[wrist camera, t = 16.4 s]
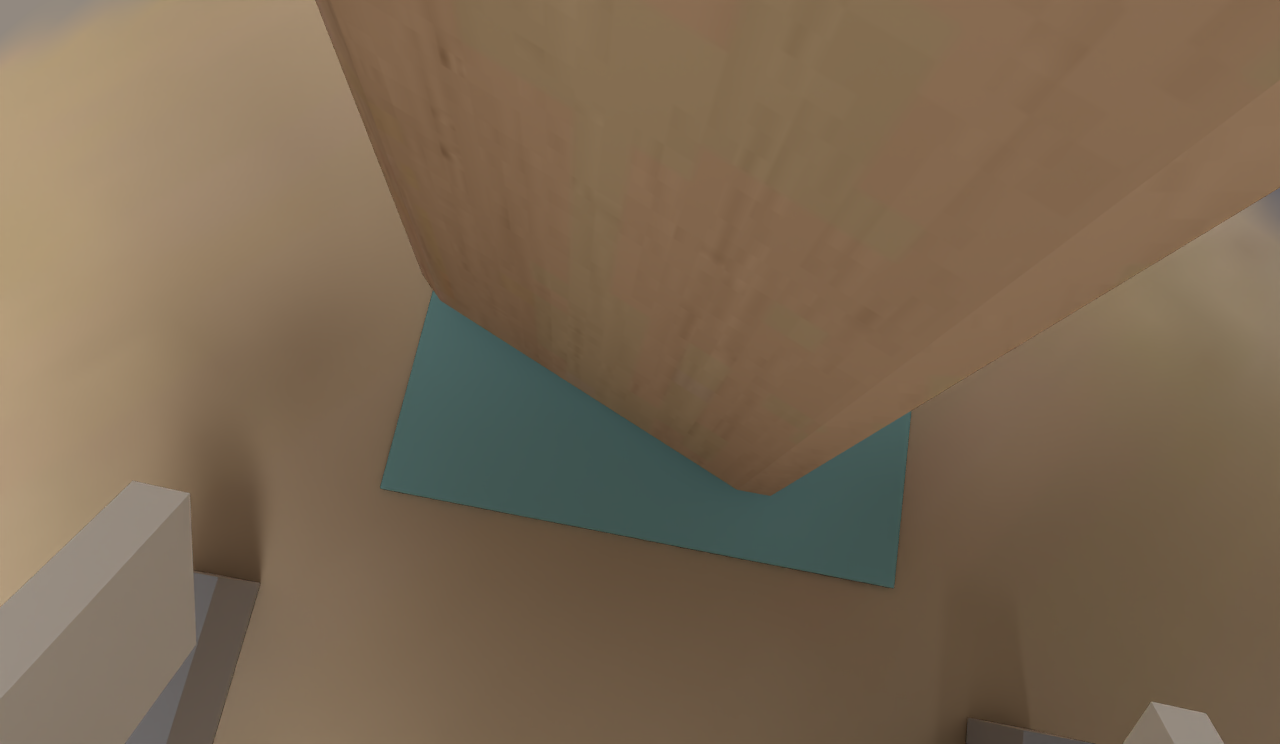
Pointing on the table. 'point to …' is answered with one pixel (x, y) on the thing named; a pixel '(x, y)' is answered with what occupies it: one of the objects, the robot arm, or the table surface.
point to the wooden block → (801, 187)
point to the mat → (624, 465)
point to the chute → (196, 694)
